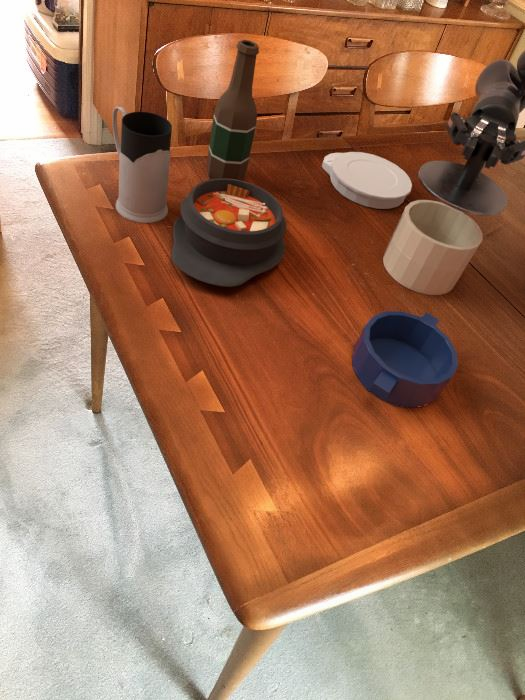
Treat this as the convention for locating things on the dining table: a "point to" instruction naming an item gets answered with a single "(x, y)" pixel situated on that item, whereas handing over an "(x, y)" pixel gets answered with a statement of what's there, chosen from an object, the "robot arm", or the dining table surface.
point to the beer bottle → (234, 119)
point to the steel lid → (465, 182)
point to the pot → (431, 247)
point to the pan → (404, 358)
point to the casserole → (228, 232)
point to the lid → (368, 179)
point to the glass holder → (143, 165)
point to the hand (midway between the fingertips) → (479, 158)
